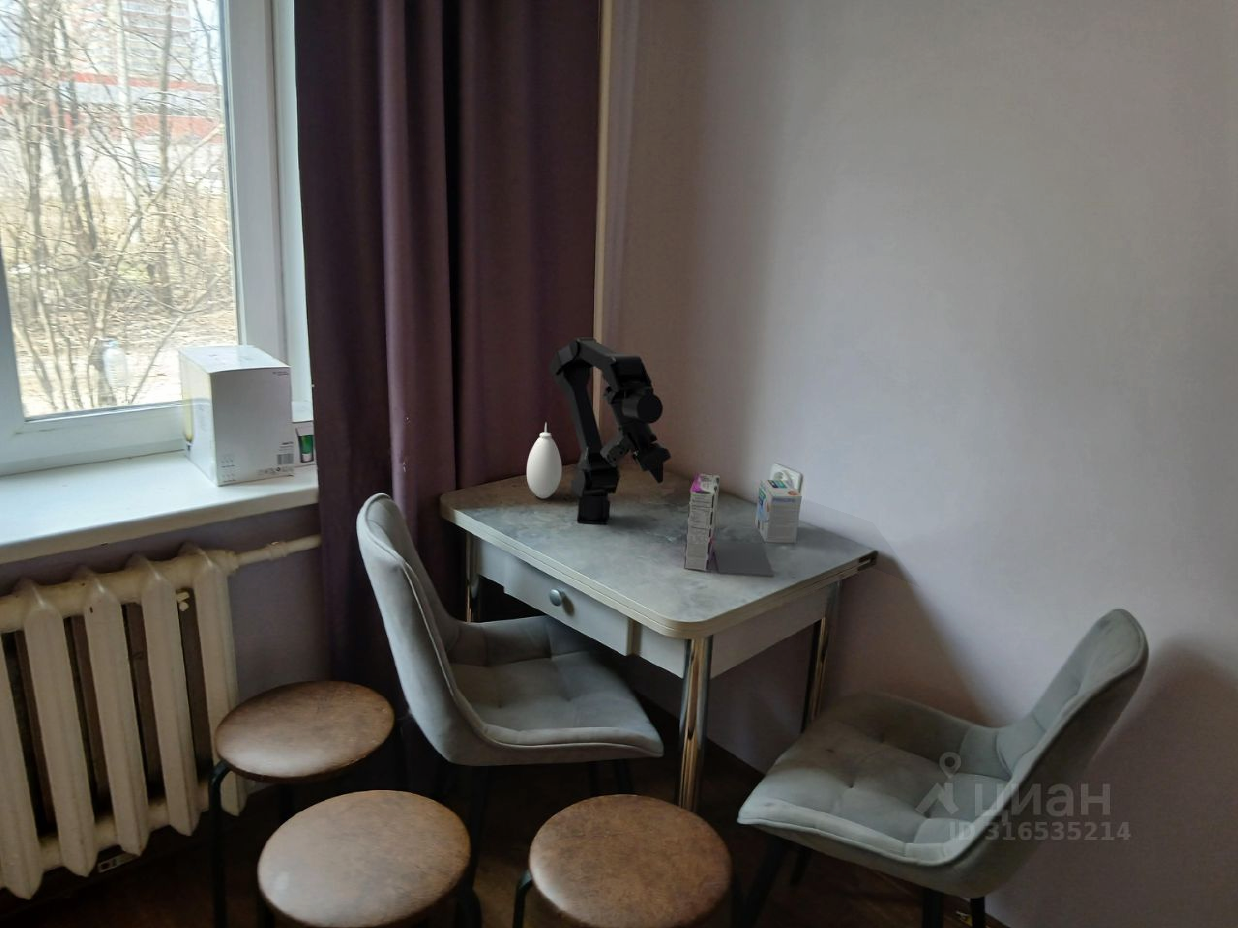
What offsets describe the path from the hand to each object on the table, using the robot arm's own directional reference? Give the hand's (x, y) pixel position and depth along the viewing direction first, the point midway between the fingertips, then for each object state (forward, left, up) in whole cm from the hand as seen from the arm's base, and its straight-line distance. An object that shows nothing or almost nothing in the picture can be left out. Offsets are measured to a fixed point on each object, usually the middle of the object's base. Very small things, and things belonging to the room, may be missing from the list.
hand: (660, 482), depth 180 cm
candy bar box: (+8, -11, -12) cm, 18 cm away
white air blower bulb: (-26, +20, -12) cm, 35 cm away
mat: (+17, -9, -12) cm, 23 cm away
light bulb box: (+26, +6, -12) cm, 30 cm away
